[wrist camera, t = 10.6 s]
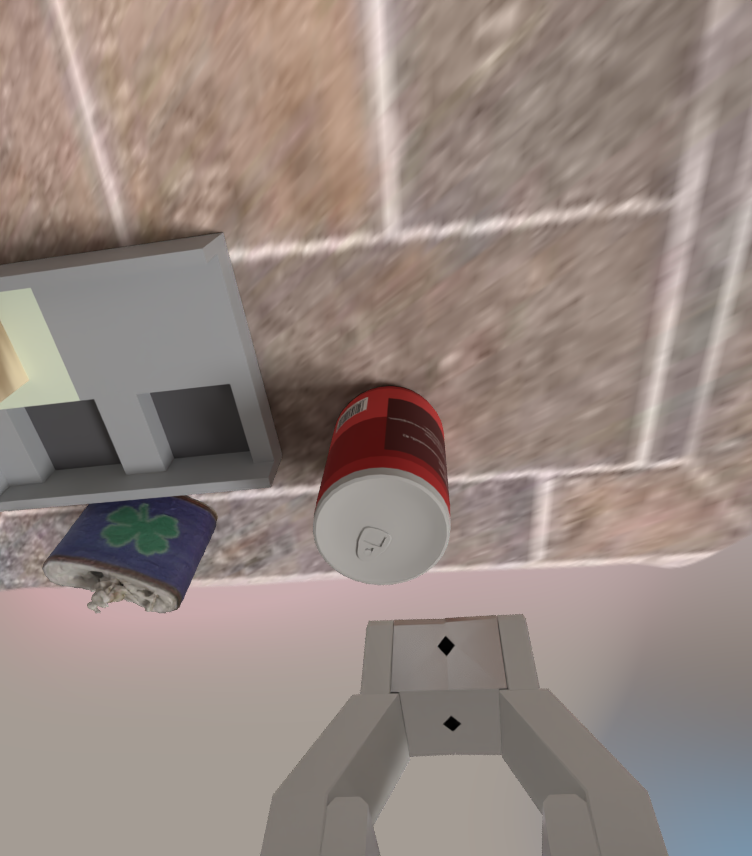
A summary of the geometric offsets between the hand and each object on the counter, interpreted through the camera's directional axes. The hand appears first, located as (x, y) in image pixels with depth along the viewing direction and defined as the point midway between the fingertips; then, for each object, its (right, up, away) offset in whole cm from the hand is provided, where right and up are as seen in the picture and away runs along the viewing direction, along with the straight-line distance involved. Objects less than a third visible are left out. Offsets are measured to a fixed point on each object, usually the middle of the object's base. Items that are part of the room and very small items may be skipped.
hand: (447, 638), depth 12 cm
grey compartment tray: (-20, +8, +30) cm, 37 cm away
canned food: (0, +4, +31) cm, 31 cm away
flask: (-18, -2, +35) cm, 40 cm away
